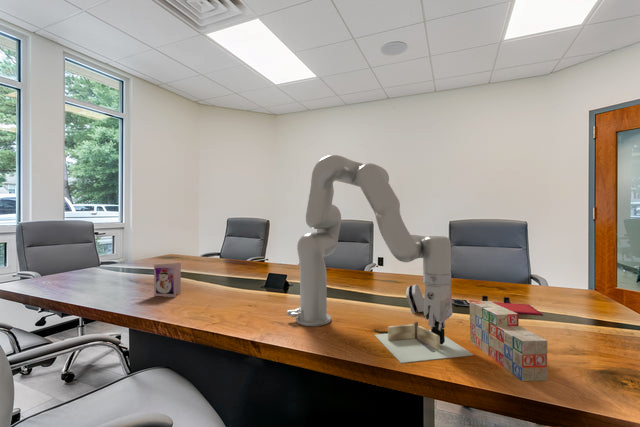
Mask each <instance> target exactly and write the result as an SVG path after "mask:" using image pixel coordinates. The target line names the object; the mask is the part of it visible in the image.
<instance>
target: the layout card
mask: <svg viewBox="0 0 640 427" xmlns="http://www.w3.org/2000/svg"><path fill="white" fill-rule="evenodd" d="M428 330H429V331H431V329H428ZM444 336H445V342H444V343H443V344H442V345H441V344H440V349H439V350H437V349H435V348H433V347H432V346H430V345H428V344H427V343H425V342H423V341H422V340H420V339H416V338H415V339H404V340H394V341H389V340H388V333H378V334H374V337H376V339H378V341H379V342H380V343H381V344H382V345H383V346H384V347H385V348H386V349H387V350H388V351H389V353H391V355H393V357H394V358H395V359H396V360H397V361H398V362H399V363H400V364H406V363H407V364H408V363H416V362H423V361H425V362H426V361H435V360H442V359H452V358H461V357H470V356H474V353H472V352H470V351H469V350H468V349H466V348H464V347H463V346H461V345H459V344H458V343H456V342H455V341H453V340H451V339H450V338H449V337H447V336H446V335H444Z"/></svg>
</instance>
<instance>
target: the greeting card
mask: <svg viewBox="0 0 640 427" xmlns="http://www.w3.org/2000/svg"><path fill="white" fill-rule="evenodd" d="M181 265H182V264H181V262H176V263H174V262H173V263H160V264H157V263H156V264H153V297H155V296H168V297H167V298H176V297H177V294H176V293H182V291H181V290H182V288H181V287H182V286H181V282H182V281H181V280H182V278H181V277H182V276H181V275H182V273H181V272H182V271H181V270H182V268H181Z"/></svg>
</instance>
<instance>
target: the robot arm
mask: <svg viewBox="0 0 640 427" xmlns="http://www.w3.org/2000/svg"><path fill="white" fill-rule="evenodd" d="M310 179H311V180H310V190H309V195H308V199H307V200H308V202H307V207H306V213H305V214H306V215H305V222H306V225H307V226H308V228H310V229H314V230H316V231H313V232H308V233H305V234H303V235H301V236H300V238H299V240H298V242H297V244H296V246H297V247H296V248H297V255H298V261H299V262H298V263H299V282H300V283H299V290H300V291H299V295H300V296H299V298H300V299H299V302H300V304H299V305H298V308H296V309H288V310H287V311H286V314H287V316H289V317H290V316H291V318H295V322H296V323H297V324H299V325H302V326H306V327H319V326H325V325H327V324H330V322H331V321H332V316H331V315H330V314H329V313H327V309H328V308H327V307H328V306H327V288H328V287H327V266H326V263H325V257H328V256H331V255H332V254H333V253H335V251H336V249H337V247H338V241H339V235H340V230H341V225H342V215H341V211H340V209H339V207H338V206H336V205H335V204H333V199H334V196H335V195H334V193H335V190H334V182H341V183H344V184H349V185H352V186H356V187H359V188H360V190H361V191H362V193H363V195H364V197H365V199H366V200H367V202H368V203H369V204H368V205H369V206H370V207H371V209H372V211H373V212H374V215H375V221H376V224H377V225H378V229H379V232H380V235H381V238H382V239H383V240H384V242H385V245H386V246H387V248H388V250H389V251H390V253H391V254H392V256H393V257H394V258H395V259H396V260H397V261H399V262H401V263H410V262H413V261H414V260H417V259H422V263H423V264H422V265H423V267H422V271H423V272H422V275H423V276H422V277H423V280H422V282H423V284H424V285H425V286H424V296H423V298H424V312H423V315H424V319H425V320H427V321H428V324H427V325H428V326H429V327H430V330H431V332H433V333H435V334H437V335H439V336H440V344H441V345H442V344H443V343H444V342H445V336H446V335H445V326H446V325H445V324H446V321H447V320H449V318H450V317H452V315H453V303H452V299H453V297H452V290H451V289H452V288H451V287H452V255H451V254H452V247H451V243H452V241H451V240H450V238H449V237H447V236H445V235H441V236H440V235H439V236H438V235H429V236H425V235H417V234H411V233H410V232H409V230H408V228H407V227H406V225H405V223H404V221H403V218H402V215H401V210H400V208H401V207H400V206H401V203H400V199H399V198H398V196H397V195H396V193H395V192H394V190H393V187H391V184H390V183H389V181H390V176H389V173H388V172H387V170H386V169H385V168H384V167H381V166H380V165H377V164H375V163H363V162H358V161H354V160H352V159H349V158H347V157H344V156H341V155H338V154H330V155H327V156H324V157H322V158H320V159H319V160H318V161H317V162H316V164H315V165H314V167H313V170H312V173H311V178H310Z"/></svg>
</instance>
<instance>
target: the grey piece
mask: <svg viewBox="0 0 640 427" xmlns="http://www.w3.org/2000/svg"><path fill="white" fill-rule="evenodd" d="M405 297H406V300H407V302H408V305H409V310H410V311H411V314H415V313H416V312H417V313H420V312H422V313H424V296H423V293H422V291H421V288H420V285H419V284H413V285H409V286H407V288H406V291H405Z"/></svg>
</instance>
